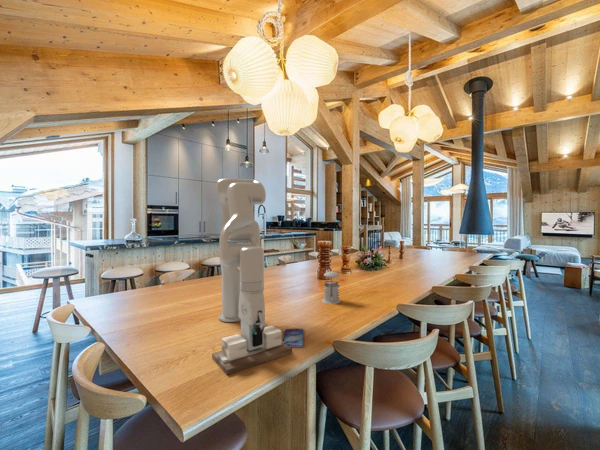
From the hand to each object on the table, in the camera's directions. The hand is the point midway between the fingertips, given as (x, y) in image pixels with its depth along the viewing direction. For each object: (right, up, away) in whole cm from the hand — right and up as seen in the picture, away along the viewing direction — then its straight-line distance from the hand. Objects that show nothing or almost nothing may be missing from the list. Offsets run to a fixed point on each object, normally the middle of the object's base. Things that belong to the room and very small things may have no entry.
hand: (252, 341), depth 94 cm
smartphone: (+13, -5, +13) cm, 19 cm away
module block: (0, -1, 0) cm, 1 cm away
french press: (+31, -2, +57) cm, 65 cm away
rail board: (0, -5, 0) cm, 5 cm away
